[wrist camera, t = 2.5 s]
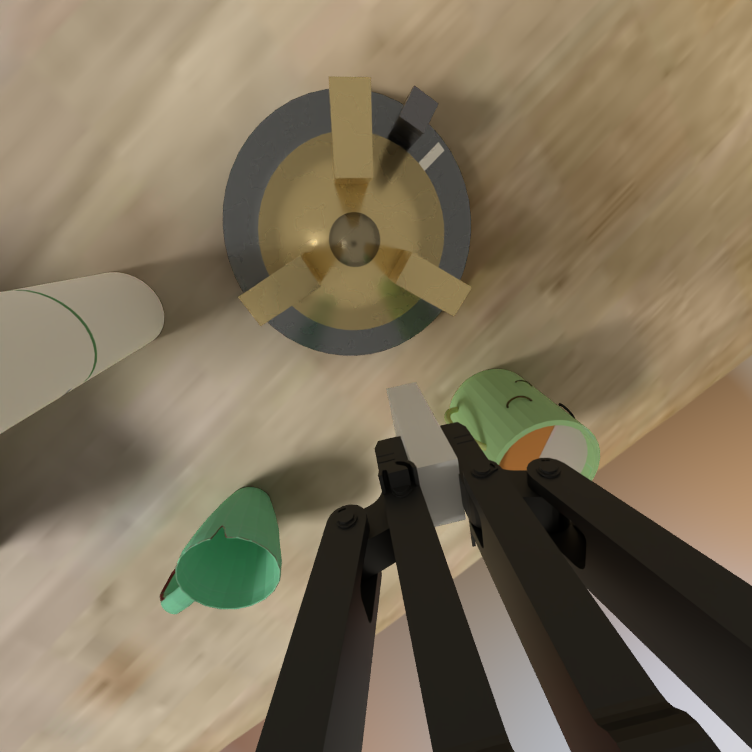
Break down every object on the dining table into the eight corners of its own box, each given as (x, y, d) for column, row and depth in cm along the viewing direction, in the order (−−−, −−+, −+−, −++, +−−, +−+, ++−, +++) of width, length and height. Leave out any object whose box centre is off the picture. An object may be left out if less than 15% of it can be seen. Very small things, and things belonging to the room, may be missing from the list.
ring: (194, 288, 34) (162, 301, 27) (289, 32, 28) (276, -28, 21) (393, 381, 40) (405, 410, 33) (507, 188, 34) (549, 178, 27)
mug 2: (545, 375, 42) (622, 427, 31) (511, 450, 45) (569, 520, 34) (446, 353, 39) (491, 400, 28) (418, 433, 43) (448, 504, 32)
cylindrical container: (63, 296, 33) (-567, 450, 10) (126, 257, 32) (-390, 322, 9) (121, 359, 36) (-266, 595, 13) (180, 324, 35) (-114, 503, 12)
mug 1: (252, 455, 41) (229, 519, 32) (307, 505, 45) (301, 575, 36) (161, 521, 43) (115, 600, 34) (221, 564, 47) (194, 645, 38)
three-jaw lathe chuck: (232, 289, 32) (209, 302, 26) (317, 79, 27) (313, 35, 21) (394, 367, 37) (406, 393, 31) (492, 200, 32) (529, 192, 26)
